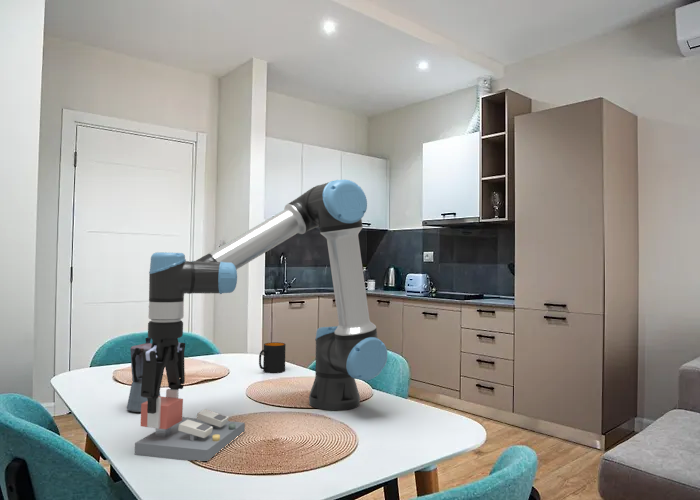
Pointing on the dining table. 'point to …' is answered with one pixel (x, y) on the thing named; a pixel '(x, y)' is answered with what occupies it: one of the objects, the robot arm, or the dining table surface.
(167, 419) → the cap
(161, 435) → the post
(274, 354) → the mug
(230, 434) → the panel
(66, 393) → the dining table surface
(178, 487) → the dining table surface
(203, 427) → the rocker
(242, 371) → the dining table surface
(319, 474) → the dining table surface
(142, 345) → the moka pot
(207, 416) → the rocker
